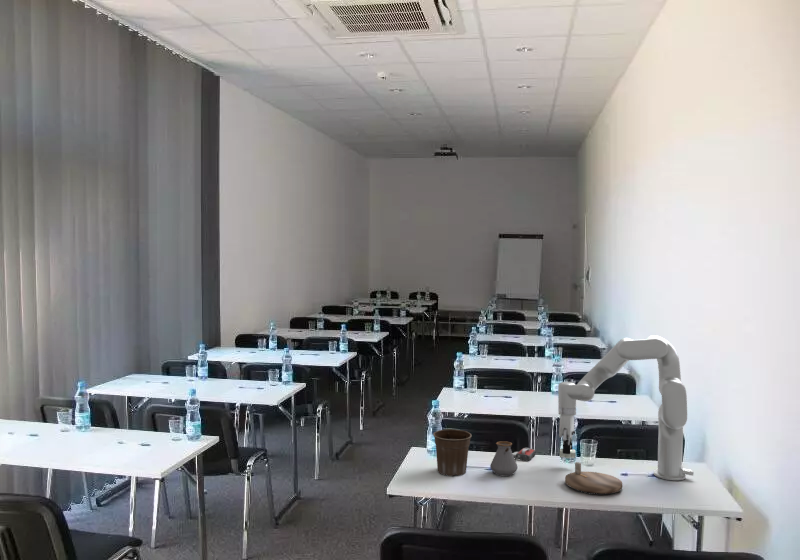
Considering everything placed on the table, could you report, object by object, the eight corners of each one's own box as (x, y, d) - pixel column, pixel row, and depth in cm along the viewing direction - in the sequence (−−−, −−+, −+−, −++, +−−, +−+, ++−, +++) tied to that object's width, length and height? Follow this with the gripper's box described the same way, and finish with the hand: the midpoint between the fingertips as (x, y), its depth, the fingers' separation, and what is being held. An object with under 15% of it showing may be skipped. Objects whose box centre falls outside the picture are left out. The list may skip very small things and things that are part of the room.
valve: (575, 460, 283) (575, 433, 283) (560, 460, 284) (559, 432, 284) (574, 456, 289) (574, 429, 289) (559, 455, 291) (559, 428, 291)
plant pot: (463, 480, 267) (463, 441, 266) (426, 474, 274) (427, 436, 273) (476, 469, 281) (476, 432, 281) (441, 463, 288) (441, 427, 288)
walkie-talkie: (518, 452, 309) (505, 463, 292) (518, 443, 309) (506, 454, 291) (537, 455, 305) (525, 467, 288) (537, 446, 305) (525, 457, 287)
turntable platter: (594, 472, 277) (594, 458, 276) (634, 488, 257) (634, 473, 257) (553, 479, 267) (553, 464, 267) (592, 496, 247) (592, 481, 247)
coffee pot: (489, 468, 283) (490, 434, 283) (516, 469, 282) (516, 435, 282) (492, 485, 262) (493, 447, 261) (521, 486, 261) (522, 448, 261)
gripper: (562, 406, 296) (562, 446, 296) (554, 413, 281) (555, 456, 281) (579, 407, 293) (579, 448, 293) (572, 415, 277) (572, 458, 278)
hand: (567, 451), depth 287 cm, fingers closed on valve, 3 cm apart
